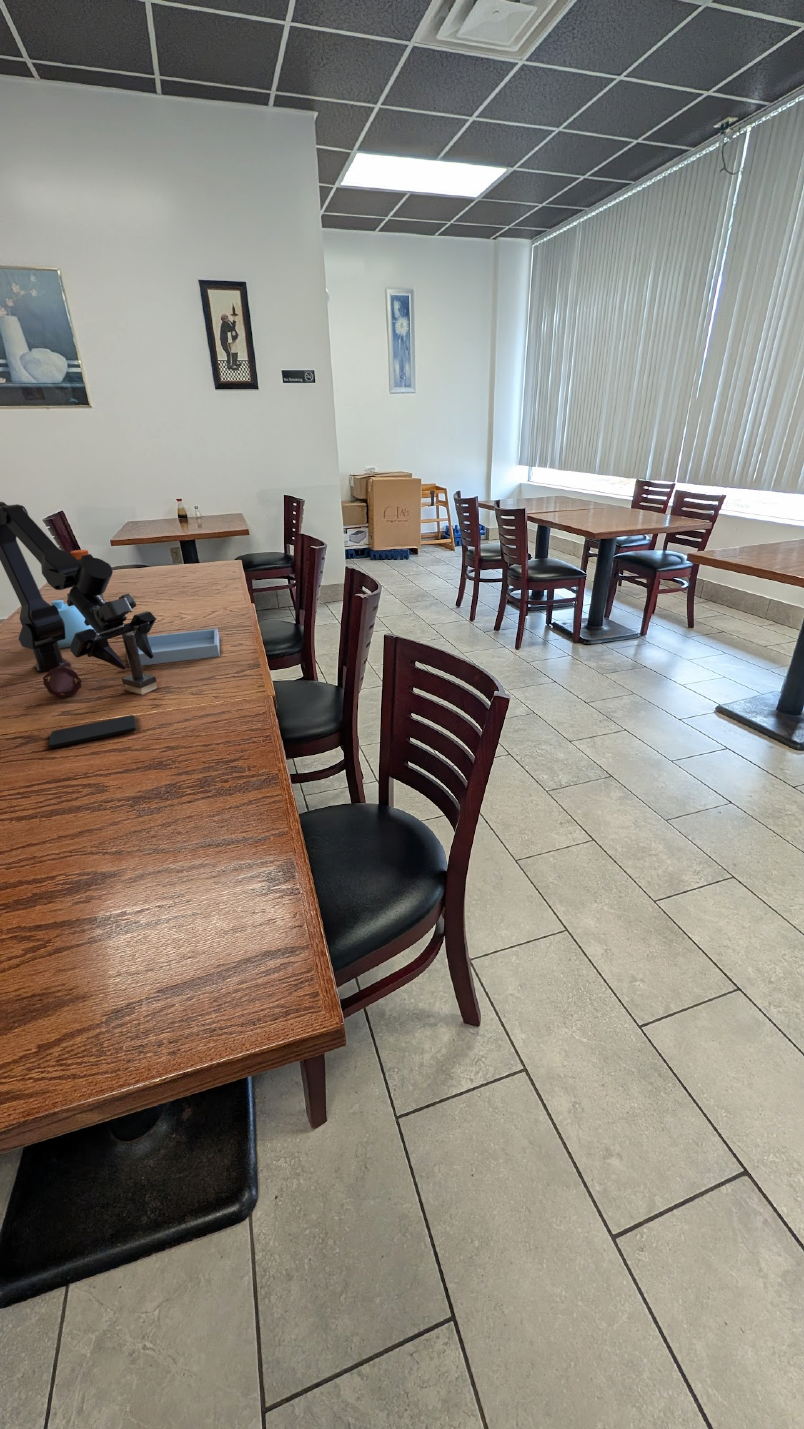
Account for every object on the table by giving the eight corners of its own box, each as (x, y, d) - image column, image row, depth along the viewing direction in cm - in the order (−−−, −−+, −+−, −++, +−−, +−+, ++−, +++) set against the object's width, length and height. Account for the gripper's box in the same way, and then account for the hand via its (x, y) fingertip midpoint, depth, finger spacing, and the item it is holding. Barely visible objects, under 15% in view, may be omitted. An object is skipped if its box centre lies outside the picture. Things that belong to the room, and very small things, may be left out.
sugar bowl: (108, 637, 168) (98, 597, 163) (57, 653, 156) (44, 611, 151) (79, 630, 175) (68, 591, 170) (28, 644, 164) (14, 604, 159)
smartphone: (50, 731, 112) (134, 714, 118) (51, 734, 113) (135, 718, 118) (47, 746, 107) (136, 727, 112) (49, 750, 107) (137, 731, 113)
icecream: (77, 677, 123) (86, 659, 136) (36, 673, 120) (50, 656, 133) (76, 708, 124) (86, 688, 138) (36, 706, 122) (49, 686, 135)
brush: (124, 690, 132) (109, 635, 126) (141, 683, 135) (127, 629, 129) (142, 695, 129) (128, 639, 123) (158, 688, 132) (145, 633, 127)
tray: (129, 667, 145) (126, 655, 144) (136, 648, 158) (133, 637, 156) (219, 656, 150) (217, 644, 149) (219, 639, 163) (217, 628, 161)
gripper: (62, 595, 116) (111, 655, 116) (141, 575, 131) (185, 629, 130) (50, 628, 123) (96, 685, 123) (126, 606, 138) (168, 657, 138)
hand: (138, 662), depth 128 cm, fingers open, 7 cm apart
